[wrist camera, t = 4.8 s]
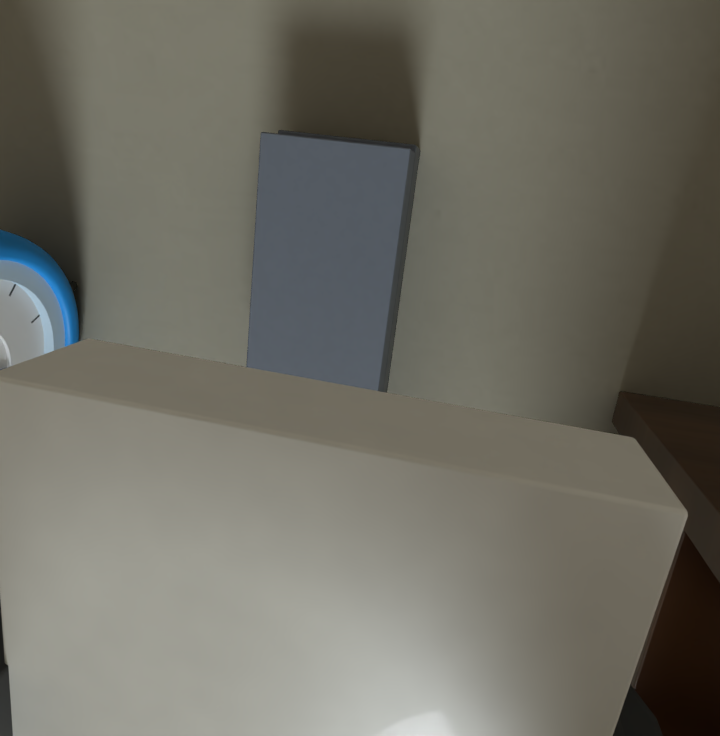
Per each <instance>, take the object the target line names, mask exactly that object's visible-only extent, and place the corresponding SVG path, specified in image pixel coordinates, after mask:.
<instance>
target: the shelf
mask: <svg viewBox="0 0 720 736" xmlns="http://www.w3.org/2000/svg"><path fill="white" fill-rule="evenodd" d="M612 423H613V424H614V426H615V427H616V429H617V430H618V432H619V433H620V435H622V436H628V437H633V438H634V439H636V441H637V442H638V443H639V445H640V446H641V448H642V449H643V450H644V452H645V453H646V454H647V456H648V457H649V459H650V460H651V461H652V463H653V464H654V466H655V467H656V468H657V470H658V471H659V472H660V474H661V475H662V477H663V478H664V479H665V481H666V482H667V484H668V485H669V486H670V488H671V489H672V491H673V492H674V493H675V495H676V496H677V497H678V499H679V500H680V502H681V503H682V504H683V506H684V507H685V509H686V510H687V513H688V517H687V520H686V523H685V526H684V529H683V532H682V535H681V538H680V541H679V544H678V547H677V549H676V552H675V555H674V558H673V561H672V564H671V567H670V570H669V573H668V576H667V579H666V582H665V584H664V587H663V590H662V593H661V596H660V599H659V602H658V605H657V608H656V611H655V614H654V617H653V620H652V622H651V625H650V628H649V631H648V634H647V637H646V640H645V643H644V646H643V649H642V652H641V655H640V658H639V660H638V663H637V666H636V669H635V672H634V675H633V678H632V681H631V686H632V687H633V688H634V689H635V691H636V692H637V693H638V695H639V696H640V697H641V698H642V700H643V701H644V702H645V704H646V705H647V706H648V708H649V709H650V710H651V711H652V713H653V714H654V715H655V717H656V718H657V720H658V723H659V726H660V729H661V731H662V734H663V736H720V407H715V406H709V405H703V404H696V403H690V402H684V401H678V400H671V399H665V398H659V397H653V396H646V395H640V394H634V393H628V392H622V391H621V392H620V393H619V397H618V401H617V404H616V408H615V412H614V416H613V420H612Z"/></svg>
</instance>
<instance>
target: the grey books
mask: <svg viewBox="0 0 720 736" xmlns="http://www.w3.org/2000/svg"><path fill="white" fill-rule="evenodd" d="M419 156H420V149H419V148H418V147H417V146H416V145H412V144H403V143H393V142H384V141H375V140H366V139H357V138H348V137H339V136H330V135H320V134H311V133H302V132H293V131H284V130H279V131H278V134H275V133H266V132H261V140H260V156H259V173H258V189H257V205H256V221H255V238H254V254H253V270H252V287H251V303H250V319H249V336H248V352H247V367H248V368H254V369H259V370H265V371H270V372H276V373H281V374H287V375H292V376H298V377H303V378H309V379H314V380H320V381H325V382H331V383H336V384H342V385H347V386H353V387H358V388H364V389H369V390H375V391H380V392H386V393H387V387H388V380H389V373H390V366H391V358H392V351H393V344H394V337H395V330H396V322H397V315H398V308H399V301H400V293H401V286H402V279H403V272H404V264H405V257H406V250H407V243H408V235H409V228H410V221H411V214H412V206H413V199H414V192H415V185H416V178H417V170H418V163H419Z"/></svg>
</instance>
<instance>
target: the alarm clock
mask: <svg viewBox="0 0 720 736" xmlns="http://www.w3.org/2000/svg"><path fill="white" fill-rule="evenodd" d="M77 286H78V285H77V283H76V282H73V281H72V282H70V283H69V282H68V280H67V278H66V276H65V274H64V273H63V271H62V270H61V268H60V267H59V265H58V264H57V263H56V261H55V260H54V259H53V258H52V257H51V256H50V255H49V254H48V253H47V252H46V251H44V250H43V249H42V248H41V247H39V246H37V245H36V244H34V243H32V242H31V241H29V240H27V239H25V238H23V237H20V236H18V235H15V234H12V233H9V232H6V231H3V230H0V370H2V369H5V368H7V367H10V366H13V365H16V364H19V363H21V362H24V361H27V360H30V359H32V358H35V357H38V356H41V355H43V354H46V353H49V352H52V351H54V350H57V349H60V348H63V347H66V346H68V345H71V344H74V343H77V342H79V320H78V312H77V306H76V301H75V298H74V294H73V292H74V291H75V289H76V288H77Z"/></svg>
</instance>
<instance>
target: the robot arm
mask: <svg viewBox="0 0 720 736" xmlns="http://www.w3.org/2000/svg"><path fill="white" fill-rule="evenodd" d="M0 736H13V729H12V714H11V699H10V684H9V669H8V665H7V664H5V659H4V645H3V630H2V615H1V601H0ZM613 736H663V734H662V731H661V729H660V726H659V723H658V720H657V718H656V717H655V715H654V714H653V713H652V711H651V710H650V709H649V708H648V706H647V705H646V704H645V702H644V701H643V700H642V698H641V697H640V696H639V695H638V693H637V692H636V691H635V689H634V688H633V687H632V686H631V684H630V687H629V690H628V693H627V695H626V698H625V701H624V704H623V707H622V710H621V713H620V716H619V719H618V722H617V725H616V728H615V731H614V733H613Z"/></svg>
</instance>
